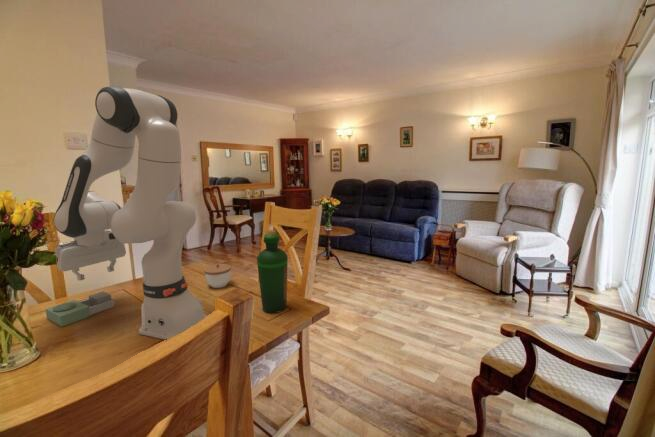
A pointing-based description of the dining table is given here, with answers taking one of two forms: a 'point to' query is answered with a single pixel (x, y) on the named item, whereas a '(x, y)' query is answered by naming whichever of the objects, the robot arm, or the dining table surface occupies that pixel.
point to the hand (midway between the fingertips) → (96, 275)
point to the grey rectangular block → (99, 298)
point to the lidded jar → (218, 275)
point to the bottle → (272, 274)
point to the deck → (75, 311)
